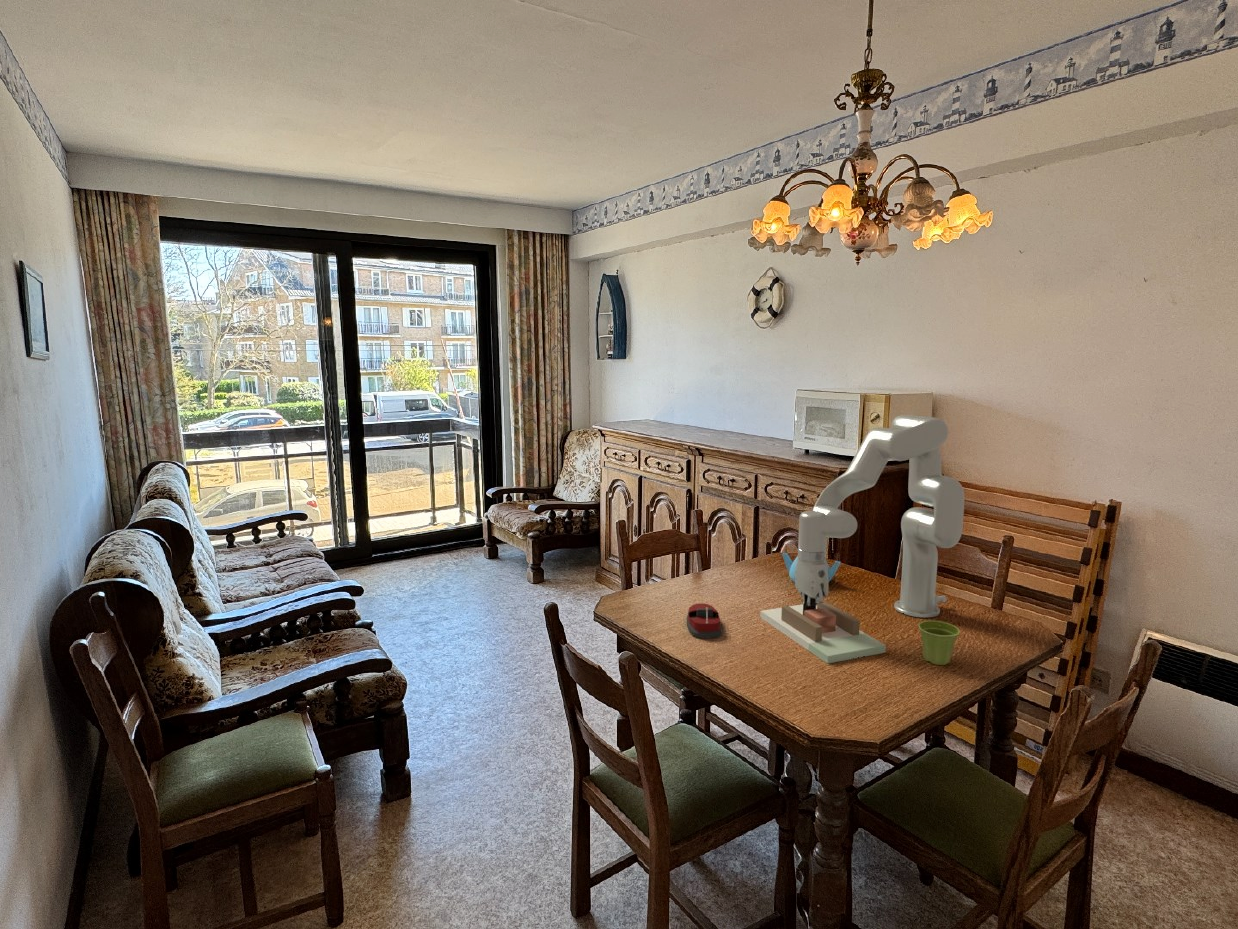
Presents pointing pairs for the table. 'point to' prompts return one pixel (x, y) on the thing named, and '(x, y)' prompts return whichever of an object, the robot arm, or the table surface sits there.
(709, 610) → the bumper car
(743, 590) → the table surface
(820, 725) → the table surface
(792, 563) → the teapot
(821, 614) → the block
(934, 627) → the plant pot
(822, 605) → the board with rails
